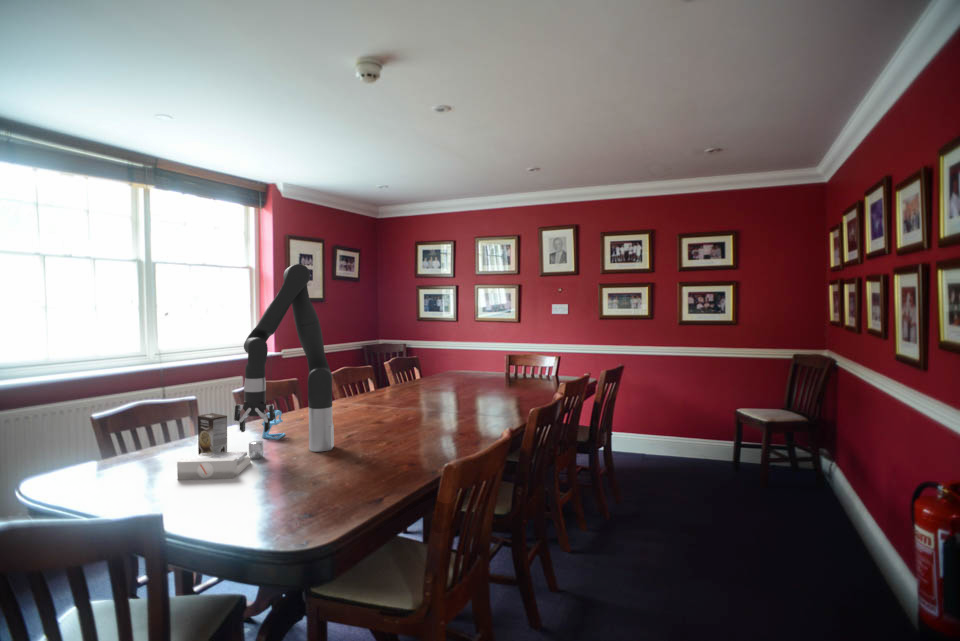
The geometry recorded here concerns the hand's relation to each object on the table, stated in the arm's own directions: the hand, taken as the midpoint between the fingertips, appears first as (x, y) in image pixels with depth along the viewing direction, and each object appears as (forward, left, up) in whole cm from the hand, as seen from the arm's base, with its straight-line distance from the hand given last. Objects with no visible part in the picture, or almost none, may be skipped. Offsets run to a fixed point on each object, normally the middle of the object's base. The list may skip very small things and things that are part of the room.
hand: (254, 431), depth 190 cm
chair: (+3, -30, -10) cm, 32 cm away
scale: (+9, +14, -10) cm, 19 cm away
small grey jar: (-1, 0, -10) cm, 10 cm away
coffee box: (+17, -3, -10) cm, 20 cm away
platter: (+9, +12, -7) cm, 16 cm away
